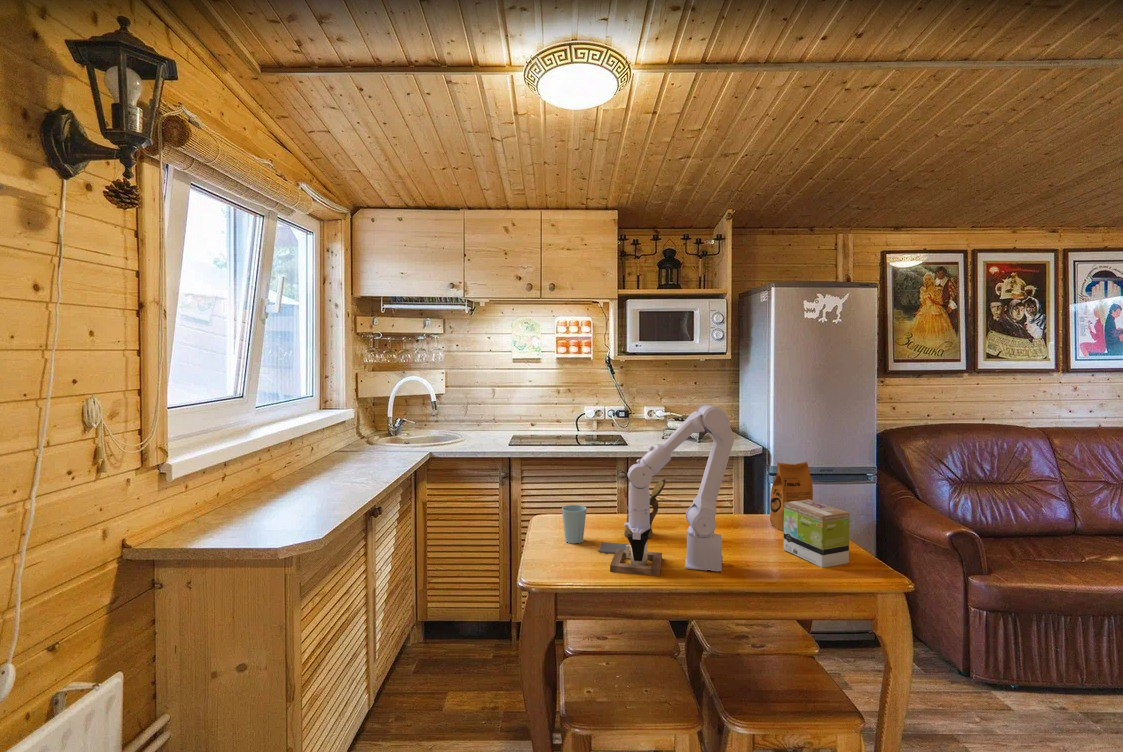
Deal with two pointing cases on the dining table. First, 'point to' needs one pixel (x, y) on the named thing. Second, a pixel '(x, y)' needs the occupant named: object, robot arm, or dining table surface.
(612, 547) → the mat
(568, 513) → the cup
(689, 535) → the robot arm
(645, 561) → the jug
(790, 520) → the tea box
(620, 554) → the jug holder
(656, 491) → the wooden mug
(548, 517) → the dining table surface
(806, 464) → the coffee package
